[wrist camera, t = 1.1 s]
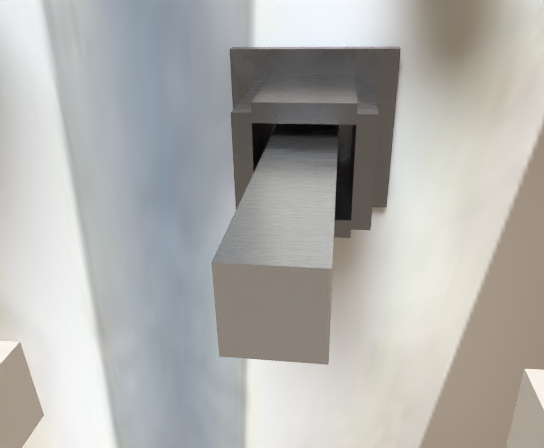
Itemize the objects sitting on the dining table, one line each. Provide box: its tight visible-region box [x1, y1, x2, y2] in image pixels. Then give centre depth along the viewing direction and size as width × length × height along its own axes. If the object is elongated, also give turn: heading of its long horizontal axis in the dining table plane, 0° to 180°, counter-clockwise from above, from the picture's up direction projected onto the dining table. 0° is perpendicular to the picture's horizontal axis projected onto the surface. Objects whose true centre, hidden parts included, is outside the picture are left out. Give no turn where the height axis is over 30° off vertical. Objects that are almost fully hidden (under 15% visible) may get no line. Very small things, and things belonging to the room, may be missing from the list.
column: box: [212, 124, 339, 364], centre depth 28 cm, size 4×5×23 cm
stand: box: [230, 47, 400, 238], centre depth 34 cm, size 12×12×12 cm
